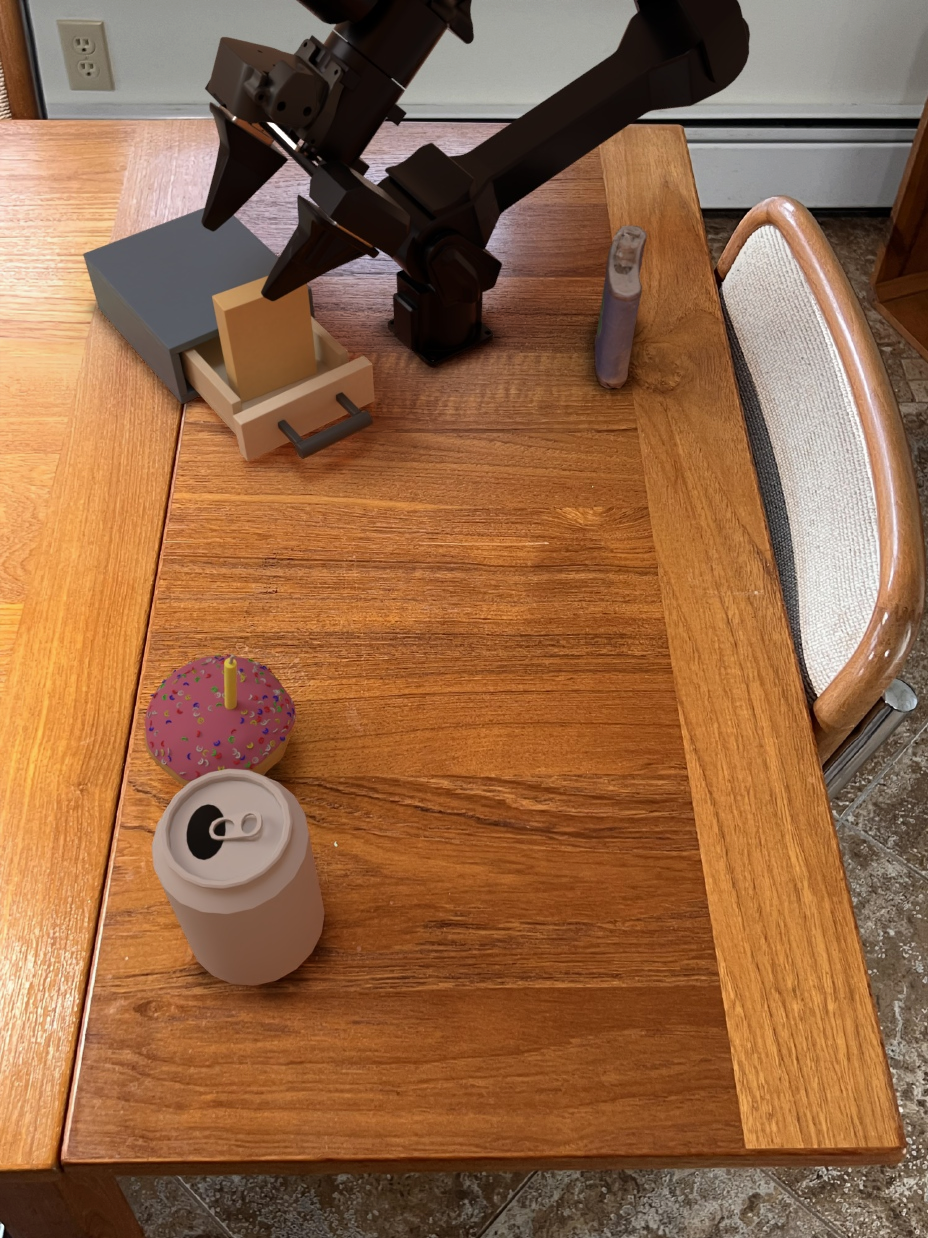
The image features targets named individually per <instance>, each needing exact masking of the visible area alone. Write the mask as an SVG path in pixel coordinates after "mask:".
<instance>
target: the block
mask: <svg viewBox="0 0 928 1238" xmlns="http://www.w3.org/2000/svg"><path fill="white" fill-rule="evenodd" d="M267 278H268V276H266V277H264V278H261V279H258V280H255V281H252V282H250V283H247V284H244V285H241V286H238V287H236V288H233V289H230V290H227V291H224V292H222V293H219V294H216V295H213V296H212V299H213V304H214V309H215V315H216V320H217V325H218V330H219V335H220V341H221V346H222V351H223V356H224V361H225V367H226V372H227V377H228V382H229V387H230V389H231V390H232V391H233V392H234V393H235V394H236V395H237V396H238V397H239V398H240V399H241V403H243V402H246V401H248V400H251V399H253V398H256V397H258V396H261V395H263V394H266V393H269V392H271V391H274V390H276V389H279V388H281V387H284V386H286V385H289V384H291V383H294V382H296V381H299V380H301V379H304V378H306V377H309V376H311V375H314V374H317V367H316V358H315V349H314V340H313V331H312V322H311V313H310V304H309V295H308V286H309V285H308V283H307V284H305V285H303V286H301V287H299V288H298V289H296V290H294V291H292V292H290V293H289V294H287V295H285V296H283V297H281V298H280V299H278V300H276V301H270V300H268V299H266V298H264V297H263V296H262V295H261V290H262V288H263V286H264V284H265V282H266V280H267ZM307 285H308V286H307Z"/></svg>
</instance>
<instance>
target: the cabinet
mask: <svg viewBox="0 0 928 1238" xmlns="http://www.w3.org/2000/svg"><path fill="white" fill-rule="evenodd" d="M204 209H205V207H202V208H199V209H198V210H194V211H192V212H190V213H187V214H184V215H181V216H179V217H176V218H174V219H171V220H168V221H166V222H162V223H160V224H158V225H155V226H152V227H149V228H146V229H144V230H142V231H139V232H136V233H134V234H131V235H128V236H126V237H123V238H120V239H118V240H116V241H113V242H110V243H108V244H105V245H102V246H100V247H96V248H94V249H91V250H89V251H87V252H84V253H82V256H83V258H84V262H85V266H86V269H87V273H88V277H89V280H90V283H91V287H92V290H93V294H94V297H95V300H96V304H97V308H98V310H99V311H100V312H101V313H102V314H103V315H104V317H105V318H106V319H107V320H108V321H109V322H110V324H111V325H112V326H113V327H114V328H115V329H116V330H117V332H118V333H119V334H120V335H121V336H122V337H123V338H124V339H125V341H126V342H127V343H128V344H129V345H130V346H131V348H132V349H133V350H134V351H135V353H136V354H138V356H139V357H140V358H141V359H142V360H143V362H145V364H146V365H147V366H148V367H149V368H150V369H151V371H153V373H154V374H155V375H156V376H157V377H158V378H159V379H160V381H161V382H162V383H163V384H164V385H165V387H166V388H167V389H168V390H169V391H170V392H171V394H172V395H173V396H174V397H175V398H176V399H177V401H179V403H180V404H181V405H183V404H186V403H188V402H190V401H192V400H195V399H198V398H199V397H202V396H201V395H200V394H199V393H198V392H197V391H196V390H195V388H194V387H193V386H192V385H191V384H190V383H189V382H188V381H187V379H186V378H185V377H184V375H183V370H182V366H181V362H180V357H179V352H182V351H184V350H186V349H189V348H191V347H193V346H196V345H198V344H200V343H203V342H205V341H207V340H210V339H212V338H214V337H217V336H219V330H218V325H217V320H216V315H215V309H214V304H213V299H212V296H213V295H216V294H219V293H222V292H224V291H227V290H230V289H233V288H236V287H238V286H241V285H244V284H247V283H250V282H252V281H255V280H258V279H261V278H264V277H266V276H269V274H270V272H271V270H272V269H273V267H274V265H275V263H276V262H277V260H278V258H279V257H280V256H277V254H276V253H274V251H272V249H270V248H269V247H268V246H267V245H266V244H265V243H264V242H263V241H262V240H261V239H259V237H258V236H256V234H255V233H253V231H251V230H250V229H249V228H248V227H247V226H246V225H245V224H244V223H243V222H242V221H240V219H238V217H236V215H235V214H234V215H233V216H232V217H231V218H230V219H229V220H228V221H226V222H225V223H224V224H223V225H222V226H221V227H219V228H218V229H217V230H216V231H213V232H212V231H210V230H208V229H206V228H205V227H203V225H202V224H201V220H202V217H203V213H204ZM307 286H308V295H309V304H310V313H311V316H312V317H313V318H314V319H315V320H316V316H315V314H316V313H315V307H314V305H315V304H314V298H313V297H314V296H313V289H312V287H311V286H310V285H308V284H307Z"/></svg>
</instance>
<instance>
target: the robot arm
mask: <svg viewBox="0 0 928 1238" xmlns="http://www.w3.org/2000/svg"><path fill="white" fill-rule="evenodd" d="M295 1H296V2H297V3H298V4H300V5H301V6H302V7H304V8H305V9H306V10H307V11H308V12H310V13H311V14H312V15H313V16H314V17H316V18H317V19H318V20H319V21H321V22H322V23H325V24H327V25H335V26H334V27H333V30H331V31H330V33H329V34H328V36H327V38H326V40H325V41H324V42H322V41H320V40H319V39H318V38H317V37H315V36H314V35H313V34H311V35H310V36H309V38H305V39H304V40H303V41H302V42H301V44H300V45H299V47H298V48H297V50H296V51H295V52H294V53H290V52H286V51H283V50H280V49H277V48H276V47H271V46H268V45H264V44H259V43H255V42H251V41H246V40H242V39H238V38H233V37H229V36H222V37H220V39H219V43H218V47H217V51H216V55H215V59H214V63H213V67H212V70H211V76H210V79H209V81H208V82H207V83H206V85H205V87H204V90H205V91H206V92H207V93H208V94H209V95H210V96H211V97H212V98H213V99H214V100H215V101H216V103H218V104H219V105H217V104H215V103H213V102H212V101H210V102H209V103H208V104H209V105H208V107H209V112H210V113H211V114H212V116H213V120H214V123H215V127H216V131H217V135H218V139H219V144H218V150H217V155H216V161H215V165H214V169H213V172H212V173H213V174H212V177H211V181H210V185H209V189H208V193H207V197H206V201H205V205H204V208H205V209H204V213H203V217H202V220H201V224H202V225H203V227H205V228H206V229H208V230H210V231H212V232H213V231H216V230H217V229H218V228H219V227H221V226H222V225H223V224H224V223H225V222H226V221H228V220H229V219H230V218H231V217H232V216H233V215H234V216H235V214H236V213H237V212H238V211H239V210H240V209H241V208H243V206H244V205H245V204H247V202H248V201H249V200H250V199H251V198H252V197H253V196H254V195H255V194H256V193H257V192H258V191H259V190H260V189H261V188H262V187H264V186H265V184H266V183H268V181H270V180H271V178H272V177H273V176H275V174H276V173H278V172H279V170H280V169H281V168H283V166H284V165H285V164H287V162H288V161H289V158H288V157H287V156H286V155H285V154H284V153H283V152H282V151H281V150H280V149H279V148H278V147H277V146H276V145H275V144H274V142H275V143H276V144H277V145H279V147H280V148H282V150H284V151H285V153H286V154H288V156H289V157H290V158H291V159H292V160H293V161H294V162H295V163H296V164H297V165H298V166H299V167H300V168H301V169H302V170H303V171H304V172H305V173H306V174H307V175H308V176H309V177H310V179H309V193H308V198H310V199H311V200H312V201H313V202H312V201H310V200H308V199H307V198H305V197H304V196H302V195H301V194H297V197H296V202H297V219H298V223H297V226H296V228H295V230H294V231H293V233H292V235H291V236H290V238H289V240H288V242H287V243H286V245H285V246H284V248H283V250H282V252H281V253H280V255H279V256H278V257H279V258H278V260H277V262H276V263H275V265H274V267H273V269H272V270H271V272H270V274H269V276H268V278H267V280H266V282H265V284H264V286H263V288H262V290H261V295H262V296H263V297H264V298H266V299H268V300H270V301H276V300H278V299H280V298H281V297H283V296H285V295H287V294H289V293H290V292H292V291H294V290H296V289H298V288H299V287H301V286H303V285H305V284H307V285H308V283H310V282H312V281H314V280H315V279H318V278H319V277H321V276H323V275H325V274H327V273H329V272H330V271H333V270H335V269H337V268H339V267H341V266H344V265H347V264H349V263H351V262H353V261H355V260H358V259H360V258H362V257H364V256H368V257H370V258H371V259H376V258H377V257H378V256H379V255H380V254H381V252H382V253H384V254H385V255H387V256H388V257H389V258H391V260H393V261H394V262H395V263H396V264H397V265H398V266H399V267H400V268H401V270H399V271H397V272H396V274H395V275H396V277H395V278H396V292H394V293H393V295H392V310H393V312H392V313H393V317H392V318H391V319H389V320H388V321H387V329H388V330H389V332H391V334H393V335H394V337H395V338H397V339H398V341H400V343H402V344H403V345H404V346H405V347H406V348H407V349H408V350H410V351H411V352H412V353H414V354H415V356H417V357H418V358H419V359H420V360H421V361H422V362H423V363H425V364H426V365H427V366H428V367H430V368H436V367H438V366H441V365H443V364H444V363H446V362H448V361H451V360H452V359H455V358H456V357H459V356H461V355H463V354H466V353H468V352H470V351H472V350H474V349H476V348H478V347H480V346H482V345H484V344H485V343H489V342H490V341H492V340H493V339H494V335H495V333H494V331H493V329H491V328H490V327H489V326H488V325H487V324H485V323H484V322H483V304H484V302H483V300H484V293H485V292H487V291H490V290H492V289H494V288H495V287H496V285H497V282H498V279H499V276H500V273H501V270H502V267H503V263H502V262H501V260H499V259H498V258H497V257H496V256H495V255H494V254H493V253H492V252H491V251H489V250H488V249H487V246H488V243H489V242H490V239H491V237H492V234H493V232H494V230H495V228H496V226H497V224H498V221H499V219H500V217H501V215H502V214H503V213H504V212H505V211H507V210H508V209H510V208H511V207H512V206H514V205H515V204H517V203H518V202H520V201H521V200H523V199H524V198H525V197H527V196H528V195H530V194H532V193H533V192H534V191H536V190H537V189H538V188H540V187H541V186H543V185H544V184H546V183H547V182H548V181H551V179H553V178H554V177H556V176H557V175H559V174H560V173H562V172H563V171H564V170H566V169H567V168H569V167H570V166H572V165H573V164H574V163H576V162H578V161H579V160H581V159H582V158H583V157H585V156H586V155H588V154H589V153H591V152H592V151H594V150H596V149H597V148H598V147H599V146H601V145H602V144H604V143H606V142H607V141H608V140H609V139H611V138H612V137H614V136H616V135H617V134H618V133H620V132H621V131H623V130H624V129H626V128H627V127H628V126H630V125H632V124H633V123H634V122H635V121H637V120H638V119H640V118H641V117H643V116H644V115H646V114H648V113H650V112H653V111H661V110H671V109H679V108H689V107H693V106H694V105H696V104H698V103H700V102H702V101H704V100H706V99H708V98H710V97H713V96H715V95H717V94H718V93H720V92H722V91H723V90H725V89H727V88H728V87H729V86H730V85H731V84H733V83H734V81H736V79H737V78H738V77H739V76H740V75H741V73H742V72H743V70H744V68H745V67H746V65H747V62H748V59H749V56H750V38H751V33H750V25H749V23H748V22H747V20H746V19H745V18H744V17H743V12H742V7H741V4H740V2H739V0H633V3H634V7H635V10H636V13H635V14H633V15H632V17H631V18H630V19H629V21H628V23H627V25H626V27H625V30H624V33H622V37H621V39H620V42H619V44H618V46H617V47H616V48H617V49H616V50H615V51H614V52H613V53H612V54H610V55H609V56H607V57H606V58H605V59H603V60H602V61H601V62H599V63H598V64H595V65H594V66H593V67H591V68H590V69H588V70H587V71H585V72H584V73H582V74H581V75H580V76H578V77H577V78H575V79H573V81H571V82H569V83H568V84H567V85H565V86H564V87H561V89H559V90H558V91H556V92H555V93H552V95H550V96H549V97H547V98H546V99H544V100H542V101H541V102H540V103H539V104H537V105H535V106H533V108H531V109H530V110H528V111H527V112H525V113H524V114H522V115H520V116H519V117H518V118H517V119H515V120H513V121H512V122H511V123H508V125H506V126H505V127H503V128H502V129H500V130H499V131H498V132H496V133H495V134H493V135H492V136H490V137H489V138H487V139H486V140H484V141H483V142H481V143H479V144H478V145H477V146H476V147H474V148H472V149H471V150H470V151H468V152H465V153H463V154H458V155H457V154H456V155H450V156H449V155H448V154H446V153H445V152H444V151H443V150H442V149H440V148H439V146H437V145H436V144H435V143H433V142H429V143H426V144H424V145H422V146H420V147H418V148H417V149H416V150H415V151H414V152H413V153H412V154H410V156H408V158H406V159H405V160H403V161H401V162H399V163H398V164H396V165H395V164H394V165H391V166H387V167H385V169H384V172H385V174H387V176H386V177H384V178H382V179H381V180H380V181H379V182H378V183H377V184H375V183H374V182H373V181H371V180H369V179H368V178H366V177H365V175H366V174H367V172H368V171H369V169H370V168H371V166H370V165H369V164H368V163H367V162H366V161H365V160H364V159H363V158H362V155H363V154H364V152H365V151H366V149H367V148H368V146H369V145H370V144H371V142H372V141H373V139H374V137H375V136H376V134H378V132H379V130H380V128H381V127H382V125H383V124H384V123H385V121H386V120H387V119H388V120H389V121H390V122H391V123H392V124H394V125H395V126H397V127H399V126H400V124H401V123H402V121H403V119H404V118H405V117H406V115H407V112H406V111H405V110H404V109H403V108H402V107H401V106H400V105H398V102H399V101H400V99H401V98H402V96H403V95H404V94H405V92H406V90H407V89H408V87H409V86H410V84H411V83H412V81H413V80H414V79H415V77H416V75H417V74H418V72H419V71H420V70H421V68H422V67H423V65H424V64H425V62H426V61H427V59H428V58H429V56H430V55H431V53H432V52H433V51H434V50H435V48H436V46H437V44H438V43H439V42H440V41H441V39H442V37H443V36H444V34H445V33H446V31H448V32H450V33H451V34H452V35H454V36H455V37H456V38H457V39H459V40H460V41H461V42H463V44H465V45H470V44H472V43H473V42H474V39H475V34H474V33H475V32H474V23H473V19H472V13H471V12H472V8H471V7H472V2H473V0H295ZM300 140H301V141H302V142H303V143H302V144H301V145H300V144H299V142H300Z"/></svg>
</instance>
